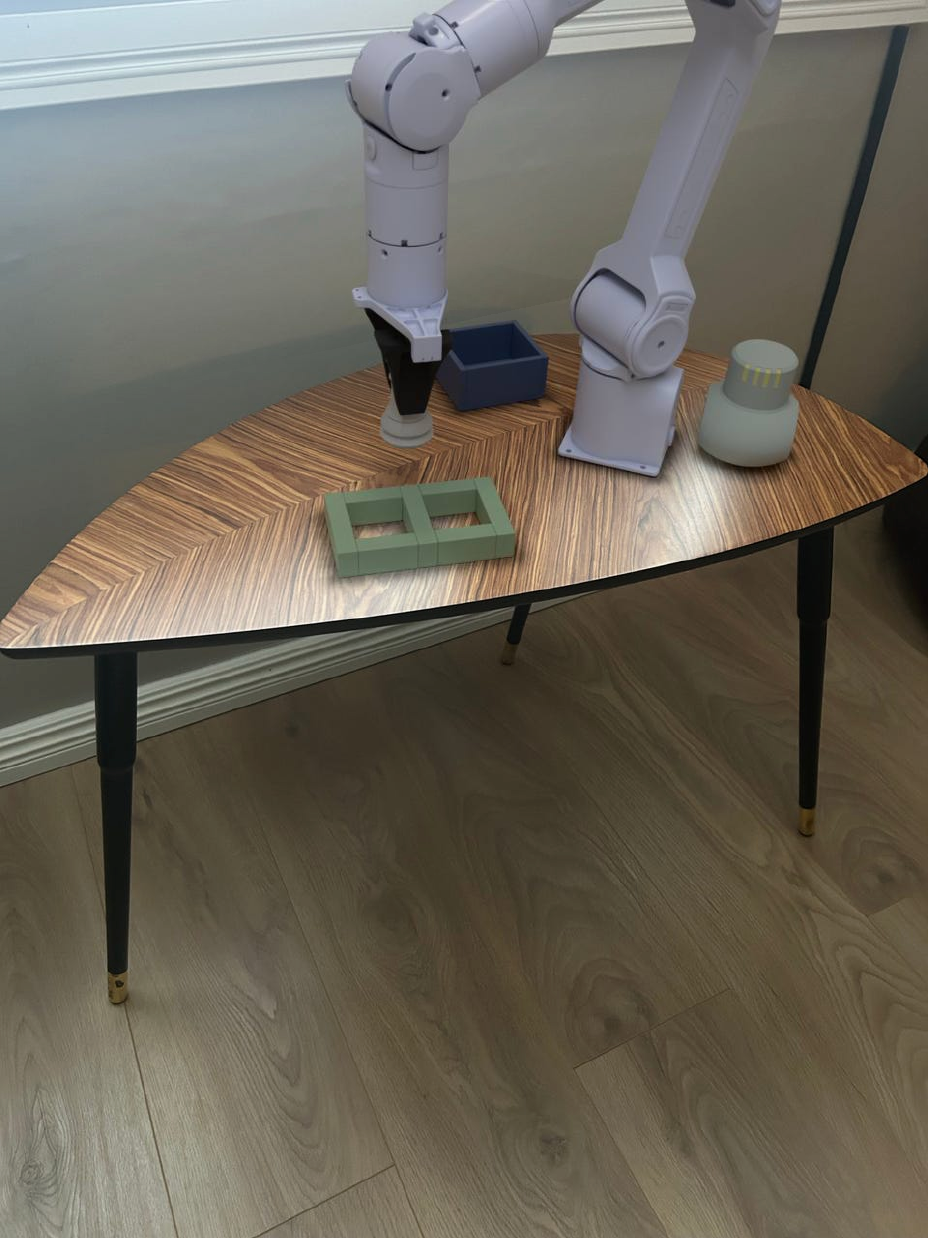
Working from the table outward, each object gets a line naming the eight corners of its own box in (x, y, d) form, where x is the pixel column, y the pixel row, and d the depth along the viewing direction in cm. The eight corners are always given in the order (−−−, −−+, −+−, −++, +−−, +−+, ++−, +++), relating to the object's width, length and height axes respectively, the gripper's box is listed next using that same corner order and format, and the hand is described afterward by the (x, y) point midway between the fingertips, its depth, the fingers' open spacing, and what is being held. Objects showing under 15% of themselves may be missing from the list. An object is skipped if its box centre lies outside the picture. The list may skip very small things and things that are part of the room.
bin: (512, 358, 107) (516, 319, 104) (544, 397, 101) (549, 356, 98) (431, 371, 104) (432, 331, 101) (459, 411, 98) (461, 370, 95)
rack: (488, 499, 88) (490, 475, 86) (513, 556, 83) (515, 532, 81) (325, 517, 85) (323, 493, 84) (338, 578, 80) (337, 553, 78)
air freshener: (780, 489, 91) (811, 392, 84) (689, 471, 93) (712, 374, 86) (786, 427, 99) (815, 333, 92) (702, 412, 100) (724, 318, 93)
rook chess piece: (427, 455, 81) (428, 365, 75) (373, 447, 81) (370, 357, 76) (439, 425, 84) (441, 337, 78) (387, 418, 84) (385, 330, 79)
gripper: (334, 194, 75) (342, 359, 84) (368, 278, 65) (373, 455, 74) (426, 189, 77) (424, 352, 86) (473, 271, 66) (465, 445, 76)
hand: (406, 399), depth 80 cm, fingers closed on rook chess piece, 3 cm apart
